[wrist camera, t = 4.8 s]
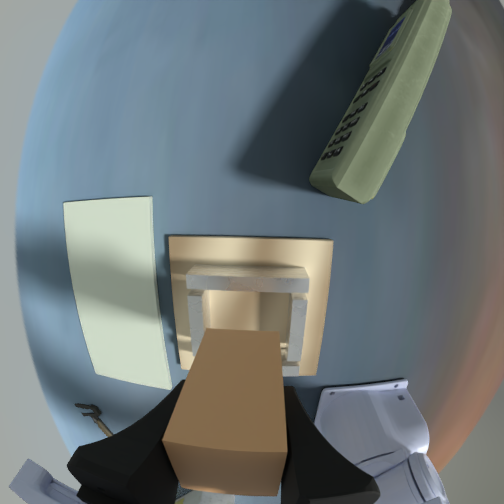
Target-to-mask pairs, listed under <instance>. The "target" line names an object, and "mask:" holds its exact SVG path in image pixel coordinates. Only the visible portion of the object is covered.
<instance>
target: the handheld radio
mask: <svg viewBox="0 0 504 504" xmlns="http://www.w3.org/2000/svg"><path fill="white" fill-rule="evenodd" d="M451 13H452V9H451V7H450V5H449V0H416V1H415V2H414V3H413V4H412V5H411V6H410V7H409V8H408V9H407V10H406V11H405V12H404V13H403V14H402V15H401V16H400V17H399V18H398V19H397V21H396V23H395V24H394V25H393V26H392V27H391V28H390V29H389V32H388V33H387V35H386V37H385V39H384V41H383V42H382V44H381V46H380V48H379V50H378V51H377V53H376V55H375V57H374V58H373V60H372V62H371V64H370V65H369V66H370V69H369V71H368V73H367V74H366V76H365V78H364V81H363V82H362V84H361V86H360V88H359V90H358V91H357V93H356V95H355V97H354V99H353V100H352V102H351V104H350V106H349V108H348V109H347V111H346V113H345V115H344V116H343V118H342V120H341V122H340V124H339V125H338V127H337V129H336V131H335V132H334V134H333V136H332V138H331V140H330V141H329V143H328V145H327V147H326V148H325V150H324V152H323V154H322V155H321V157H320V159H319V161H318V162H317V164H316V166H315V168H314V169H313V171H312V173H311V175H310V177H309V181H310V183H311V185H312V186H314V187H315V188H317V189H319V190H320V191H322V192H323V193H325V194H327V195H328V196H331V197H335V198H340V199H344V200H348V201H352V202H357V203H361V204H365V203H367V202H368V201H369V200H370V199H373V198H374V197H375V195H376V194H377V192H378V190H379V188H380V186H381V184H382V183H383V181H384V179H385V177H386V175H387V173H388V171H389V169H390V167H391V165H392V164H393V162H394V160H395V158H396V156H397V154H398V152H399V150H400V148H401V146H402V143H403V141H404V139H405V136H406V133H405V131H406V129H407V127H408V125H409V123H410V121H411V119H412V116H413V114H414V112H415V110H416V108H417V105H418V103H419V101H420V98H421V96H422V94H423V91H424V89H425V87H426V84H427V82H428V79H429V77H430V74H431V72H432V69H433V66H434V64H435V61H436V58H437V56H438V53H439V50H440V47H441V45H442V42H443V39H444V36H445V33H446V30H447V26H448V23H449V20H450V17H451Z"/></svg>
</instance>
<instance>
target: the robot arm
mask: <svg viewBox="0 0 504 504" xmlns="http://www.w3.org/2000/svg"><path fill="white" fill-rule="evenodd" d="M185 381H186V380H182V381H180V383H179V384H178V385H177V386H176V387H175V388H174V389H173V390H172V391H171V392H170V393H169V394H168V395H167V396H166V397H165V398H164V399H163V400H162V401H161V402H160V403H159V404H158V405H157V406H156V407H155V408H154V409H152V410H151V411H150V412H149V413H148V414H146V415H145V416H144V417H143V418H141V419H140V420H138V421H137V422H135V423H134V424H132V425H131V426H129V427H127V428H126V429H124V430H122V431H120V432H118V433H117V434H114V435H112V436H110V437H107V438H105V439H103V440H100V441H97V442H94V443H90V444H87V445H83V446H79V447H78V448H77V450H76V451H75V452H74V454H73V456H72V457H71V459H70V461H69V462H68V464H67V467H68V470H69V471H70V472H71V474H72V475H73V476H74V477H75V478H76V479H77V480H78V482H80V484H81V487H80V489H79V491H76V490H74V489H72V488H70V487H68V486H67V485H65V484H63V483H61V482H59V481H58V480H56V479H54V478H53V477H52V476H51V474H50V473H49V472H48V471H47V470H45V469H44V468H43V467H41V466H39V465H38V464H36V463H35V462H33V461H32V460H30V459H27V461H26V462H25V464H24V465H23V466H22V468H21V469H20V471H19V472H18V474H17V475H16V477H15V478H14V479H13V481H12V482H11V484H10V485H9V488H10V489H11V490H12V491H14V492H15V493H16V494H17V495H18V496H19V497H20V498H22V499H23V500H24V501H25V502H27V503H28V504H175V500H176V493H177V488H178V482H179V480H178V478H177V476H176V474H175V471H174V469H173V466H172V464H171V462H170V459H169V457H168V454H167V452H166V449H165V446H164V444H163V441H162V439H163V437H164V434H165V431H166V429H167V426H168V424H169V421H170V419H171V416H172V413H173V411H174V408H175V406H176V403H177V401H178V398H179V396H180V393H181V391H182V388H183V386H184V383H185ZM407 384H408V381H407V380H406V379H402V380H396V381H389V382H382V383H375V384H366V385H357V386H346V387H333V388H325V389H323V390H322V392H321V397H320V401H319V405H318V409H317V413H316V417H315V421H314V423H313V422H312V420H311V419H310V417H309V416H308V414H307V412H306V411H305V409H304V407H303V405H302V403H301V401H300V399H299V397H298V395H297V393H296V390H295V388H294V387H293V386H283V387H284V402H285V417H286V434H287V456H286V461H285V465H284V470H283V474H282V478H281V504H449V501H448V499H447V496H446V493H445V490H444V487H443V484H442V482H441V479H440V477H439V475H438V473H437V471H436V469H435V468H434V466H433V464H432V462H431V461H430V459H429V458H428V457H427V455H426V452H427V450H428V446H429V431H428V427H427V424H426V422H425V420H424V418H423V416H422V415H421V413H420V411H419V409H418V408H417V406H416V404H415V402H414V401H413V399H412V397H411V396H410V394H409V392H408V391H407V389H406V387H407ZM330 392H332V393H330Z"/></svg>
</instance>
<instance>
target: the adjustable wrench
mask: <svg viewBox="0 0 504 504" xmlns="http://www.w3.org/2000/svg"><path fill="white" fill-rule="evenodd" d="M75 406H76V407H80V408H83V409H84V408H85V409H91V410H93V412H94V413H82V414H83V416H90V417H92V419H93V420H94V422H95V423H97V424H98V427H99V428H100V429H101V430H102V431H103V432H104V433H105V434H106V436H108V437H110V436H112V435H114V434H113V433H112V432H111V431H110V430H109V429H108V428H107V427H106V425H105V424H104V423H103V422H102V421H101V420H100V419H99V418H98V416H100V415H101V411H100V410H99V408H98V407H97V406H94V405H91V406H89V405H85V404H75Z"/></svg>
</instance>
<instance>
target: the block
mask: <svg viewBox="0 0 504 504" xmlns="http://www.w3.org/2000/svg"><path fill="white" fill-rule="evenodd" d="M234 499H235V495H231V494H221V493H212V492H205V491H198V490H192V491H191V492H189V493H187V494H186V495H184V496H182V497H181V498H179V499H177V500H175V504H234Z"/></svg>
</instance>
